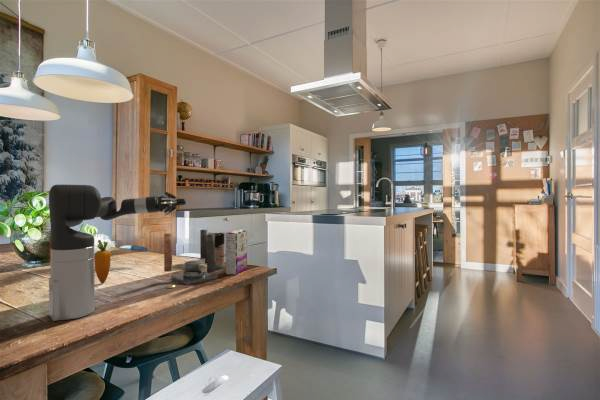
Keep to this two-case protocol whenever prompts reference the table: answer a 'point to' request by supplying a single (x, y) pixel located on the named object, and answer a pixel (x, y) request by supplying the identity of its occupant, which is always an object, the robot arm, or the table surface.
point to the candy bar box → (236, 251)
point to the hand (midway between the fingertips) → (185, 201)
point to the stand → (192, 277)
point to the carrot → (102, 262)
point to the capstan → (200, 265)
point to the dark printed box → (219, 248)
